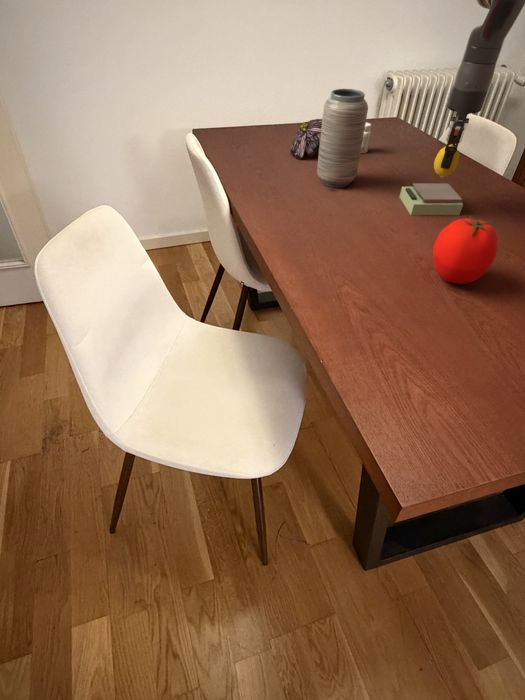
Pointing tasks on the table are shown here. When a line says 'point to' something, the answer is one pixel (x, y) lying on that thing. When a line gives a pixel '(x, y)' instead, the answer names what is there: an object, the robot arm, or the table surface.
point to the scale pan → (436, 192)
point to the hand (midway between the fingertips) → (445, 163)
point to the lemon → (438, 161)
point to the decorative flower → (307, 139)
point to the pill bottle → (366, 138)
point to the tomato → (464, 250)
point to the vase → (341, 137)
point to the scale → (427, 204)
